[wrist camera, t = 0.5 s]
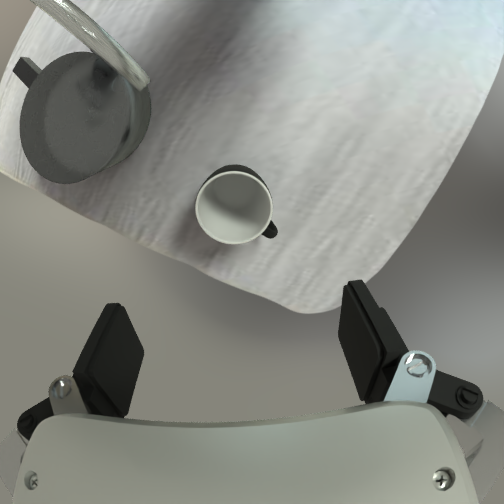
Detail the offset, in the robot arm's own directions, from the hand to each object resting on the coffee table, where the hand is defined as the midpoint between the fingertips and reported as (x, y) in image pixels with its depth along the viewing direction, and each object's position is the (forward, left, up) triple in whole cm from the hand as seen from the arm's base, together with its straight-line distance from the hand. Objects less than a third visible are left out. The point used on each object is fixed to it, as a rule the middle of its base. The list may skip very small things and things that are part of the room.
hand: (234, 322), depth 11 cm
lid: (-2, -24, -13) cm, 28 cm away
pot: (+8, -25, -32) cm, 41 cm away
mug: (+2, +3, -32) cm, 32 cm away
